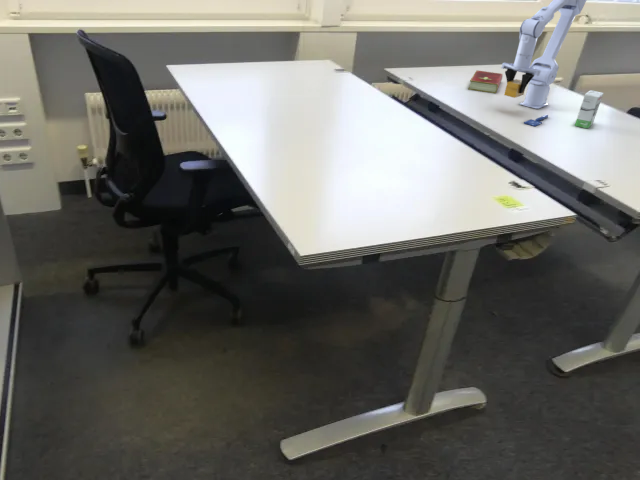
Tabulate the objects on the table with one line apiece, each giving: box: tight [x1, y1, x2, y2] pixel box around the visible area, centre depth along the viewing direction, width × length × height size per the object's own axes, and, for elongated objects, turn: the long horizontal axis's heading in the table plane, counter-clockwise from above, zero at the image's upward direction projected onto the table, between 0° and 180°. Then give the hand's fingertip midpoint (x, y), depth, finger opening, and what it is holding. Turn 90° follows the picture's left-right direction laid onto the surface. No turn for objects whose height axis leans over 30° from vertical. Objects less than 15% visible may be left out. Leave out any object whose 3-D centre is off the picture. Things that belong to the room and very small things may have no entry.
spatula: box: [523, 114, 549, 127], centre depth 209 cm, size 15×4×1 cm, turn 133°
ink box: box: [574, 90, 604, 129], centre depth 205 cm, size 9×5×12 cm, turn 142°
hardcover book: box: [467, 70, 504, 94], centre depth 249 cm, size 12×21×4 cm, turn 156°
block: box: [503, 78, 526, 99], centre depth 212 cm, size 7×4×5 cm, turn 133°
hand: (514, 91), depth 213 cm, fingers closed on block, 4 cm apart
